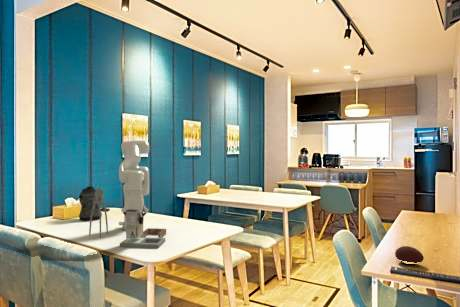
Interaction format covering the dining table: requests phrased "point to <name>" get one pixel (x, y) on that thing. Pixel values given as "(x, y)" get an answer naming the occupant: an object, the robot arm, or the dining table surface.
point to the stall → (154, 232)
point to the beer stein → (88, 205)
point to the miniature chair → (99, 200)
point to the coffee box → (133, 224)
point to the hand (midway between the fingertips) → (134, 223)
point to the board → (143, 242)
